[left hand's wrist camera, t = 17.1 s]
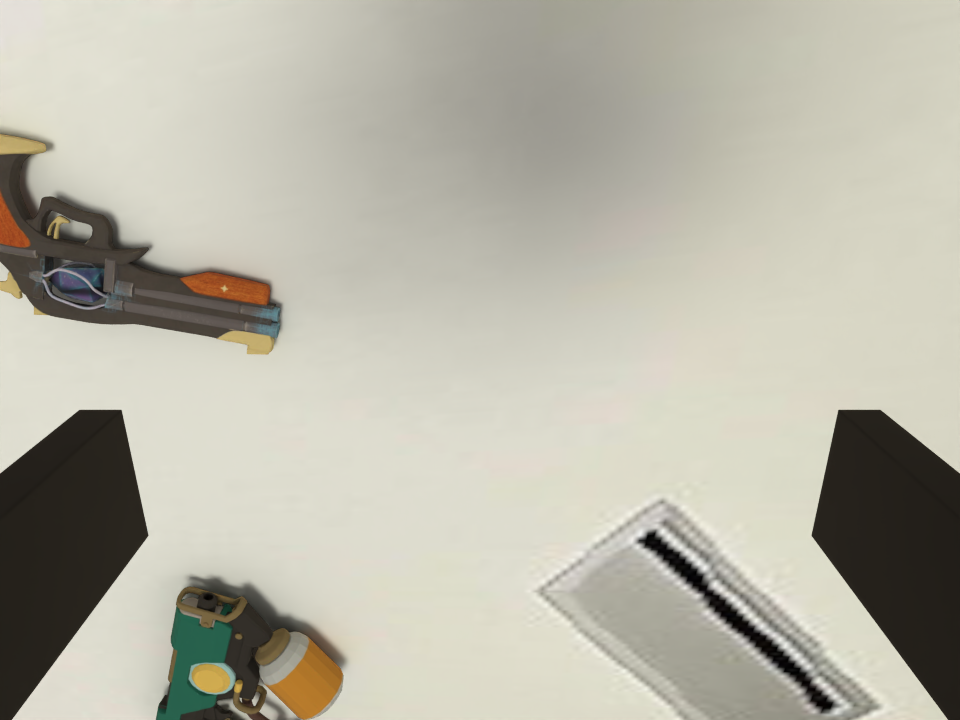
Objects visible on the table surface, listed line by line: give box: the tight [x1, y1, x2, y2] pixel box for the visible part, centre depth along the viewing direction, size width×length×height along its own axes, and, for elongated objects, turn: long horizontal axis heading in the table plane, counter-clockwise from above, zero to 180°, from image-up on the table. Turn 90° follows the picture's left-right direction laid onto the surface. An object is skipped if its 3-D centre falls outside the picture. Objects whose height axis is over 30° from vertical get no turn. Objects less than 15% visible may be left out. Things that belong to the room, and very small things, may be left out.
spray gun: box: [156, 587, 344, 720], centre depth 52 cm, size 4×17×15 cm
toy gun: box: [0, 134, 280, 354], centre depth 40 cm, size 3×19×10 cm
